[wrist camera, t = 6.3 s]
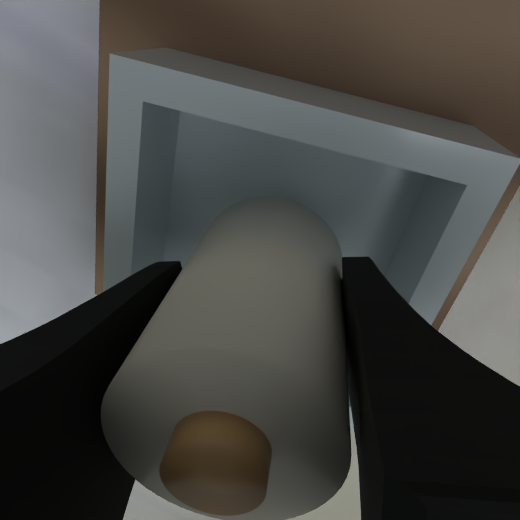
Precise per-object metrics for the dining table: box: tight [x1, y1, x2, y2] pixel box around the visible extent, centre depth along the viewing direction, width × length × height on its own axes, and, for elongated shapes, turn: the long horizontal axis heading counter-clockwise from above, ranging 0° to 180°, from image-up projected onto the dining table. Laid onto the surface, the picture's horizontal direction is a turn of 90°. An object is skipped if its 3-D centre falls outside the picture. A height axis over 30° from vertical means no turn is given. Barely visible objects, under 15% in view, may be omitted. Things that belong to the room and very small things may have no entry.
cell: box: [101, 196, 351, 520], centre depth 9 cm, size 4×4×7 cm
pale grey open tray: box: [103, 48, 520, 427], centre depth 13 cm, size 9×9×4 cm
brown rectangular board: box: [95, 0, 520, 331], centre depth 12 cm, size 20×13×1 cm, turn 168°
